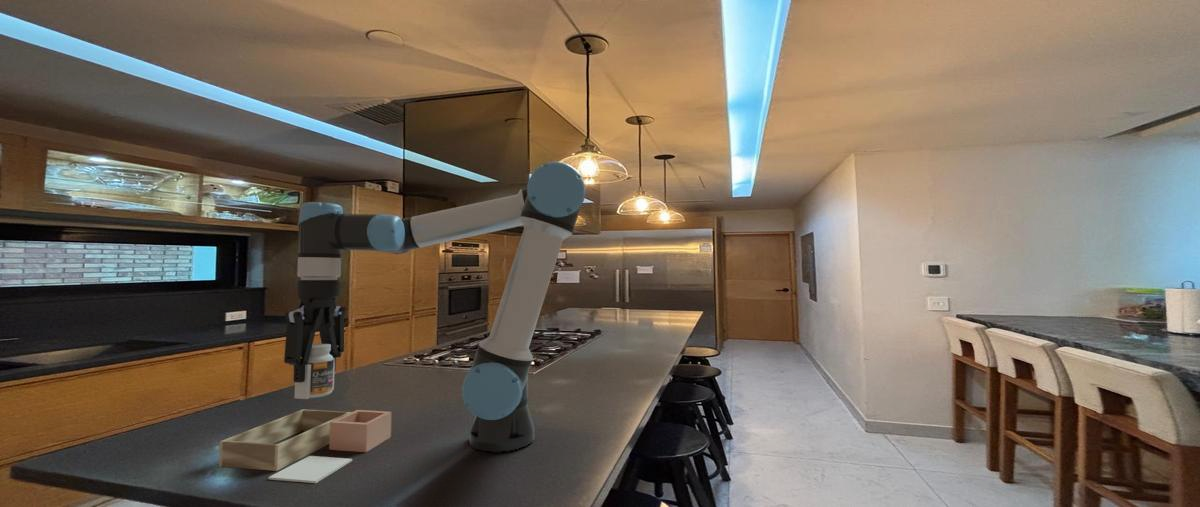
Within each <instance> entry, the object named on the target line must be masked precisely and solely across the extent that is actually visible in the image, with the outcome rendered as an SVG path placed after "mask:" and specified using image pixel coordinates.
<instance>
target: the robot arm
mask: <svg viewBox="0 0 1200 507" xmlns="http://www.w3.org/2000/svg"><path fill="white" fill-rule="evenodd" d="M586 190H587V189H586V184H585V182H584V179H583V176H582V175H581V173H580V172H579V171H578V170H577V168H574V167H573V166H572V165H571V164H568V163H566V162H562V161H549V162H546V163H543V164H542V165H540V166H538V167H537V168H536V169H535V170H534V171H533V172H532V174H531V175H530V177H529V179H528V182H527V187H526V188H521V189H520V190H519V191H518V193H517V194H513V195H508V196H503V197H499V198H494V199H490V200H484V201H480V202H475V203H470V204H466V205H462V206H461V205H460V206H457V207H452V208H447V209H442V210H438V211H434V212H428V213H423V214H420V215H413V216H411V217H405V218H401V217H400V216H398V215H394V214H393V215H392V214H386V213H379V214H376V213H375V214H373V213H372V214H369V213H364V214H363V213H362V214H360V213H357V214H356V213H355V214H354V213H350V214H349V213H344V212H343V210H344V209H343V207H342V206H341V205H340V204H337V203H330V202H321V201H320V202H319V201H310V202H309V201H307V202H305V203H303V204H302V205H301V206H300V209H299V211H300V212H299V216H298V218H299V219H298V223H297V226H298V252H297V272H296V275H297V277H298V278H300V279H298V280H297V281H296V291H295V296H296V298H297V299H299V304H298V306H297V309H295V310H293V311H289V310H288V311H286V312H285V313H284V316H285V321H286V333H285V346H284V358H283V359H284V360H283V361H284V364H288V365H290V366H293V382H294V399H301V400H308V399H311V398H310V385H311V364H307V363H308V360H309V356H310V352H311V348H312V344H314V339H315V335H316V333H317V332H316V331H318V332H319V337H320V341H321V343H320V344H330V345H331V350H330V352H329V354H330V355H332V356H333V359H334V363H333V389H332V391H334V389H335V372H336V364H337V358H341V357H342V353H344V352H345V315H346V312H347V307H346V306H340V305H339V306H338V305H337V302H336V299H337V298H339V297H340V296H341V294H340V293H341V281H340V280H339V279H338V278H340V277H341V276H342V268H341V267H342V258H341V257H342V251H365V252H367V251H371V252H383V253H388V254H394V255H400V254H406V253H408V252H410V251H412V250H417V249H420V248H424V247H429V246H433V245H438V244H441V243H442V244H443V243H447V242H451V241H457V240H462V239H466V238H470V237H474V236H479V235H484V234H489V233H494V232H497V231H498V232H499V231H502V230H504V231H505V230H507V229H513V228H517V227H522V226H523V231H522V234H521V237H520V240H519V242H518V247H517V249H516V252H515V255H514V259H513V262H512V264H511V268H510V271H509V274H508V277H507V280H506V283H505V287H504V290H503V293H502V296H501V298H500V302H499V306H498V309H497V311H496V314H495V317H494V321H493V323H492V326H491V330H490V333H489V336H487V337H486V338H484V339H483V340H482V339H481V341H479V344H478V345H477V349H476V352H475V355H474V358H473V361H472V364H471V367H470V370H469V371H468V372H467V373H466V375H465V377H464V379H463V382H462V388H461V397H462V401H463V403H464V405H465V406H466V408H467V409H468V411H469V412H470V413H471V414H472V415H474V419H473V422H472V425H471V428H470V430H469V439H468V440H469V443H470V444H469V446H470V447H471V446H472V447H471V448H473V447H474V448H473V449H475V448H476V449H475V450H477V449H479V450H478V451H480V450H483V451H482V452H485V451H491V452H490V453H502V452H501V451H507V452H510V451H509V450H513V451H515V450H514V449H517V450H519V449H518V448H521V447H523V446H526V445H528V444H530V443H531V442H532V441H533V440H534V441H535V426H534V422H533V419H532V416H531V413H530V410H529V406H528V404H529V403H528V402H529V400H528V399H529V398H528V397H529V394H528V393H529V372H530V369H531V366H532V363H533V360H534V355H533V354H532V352H531V350H530V345H531V342H532V338H533V335H534V332H535V330H536V327H537V323H538V321H539V320H538V319H539V317H540V313H541V310H542V307H543V304H544V301H545V298H546V295H547V292H548V288H549V285H550V281H551V279H552V275H553V273H554V270H555V266H556V264H557V260H558V257H559V254H560V250H561V247H562V244H563V241H565V239H567V238H569V237H571V236H573V233H574V230H575V226H576V224H577V220H578V217H579V214H580V211H581V208H582V205H583V204H584V201H585V198H586V192H587V191H586ZM534 441H533V442H534ZM533 442H532V443H533ZM532 443H531V444H532ZM531 444H530V445H531ZM528 446H529V445H528ZM526 447H527V446H526ZM521 449H522V448H521Z"/></svg>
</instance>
